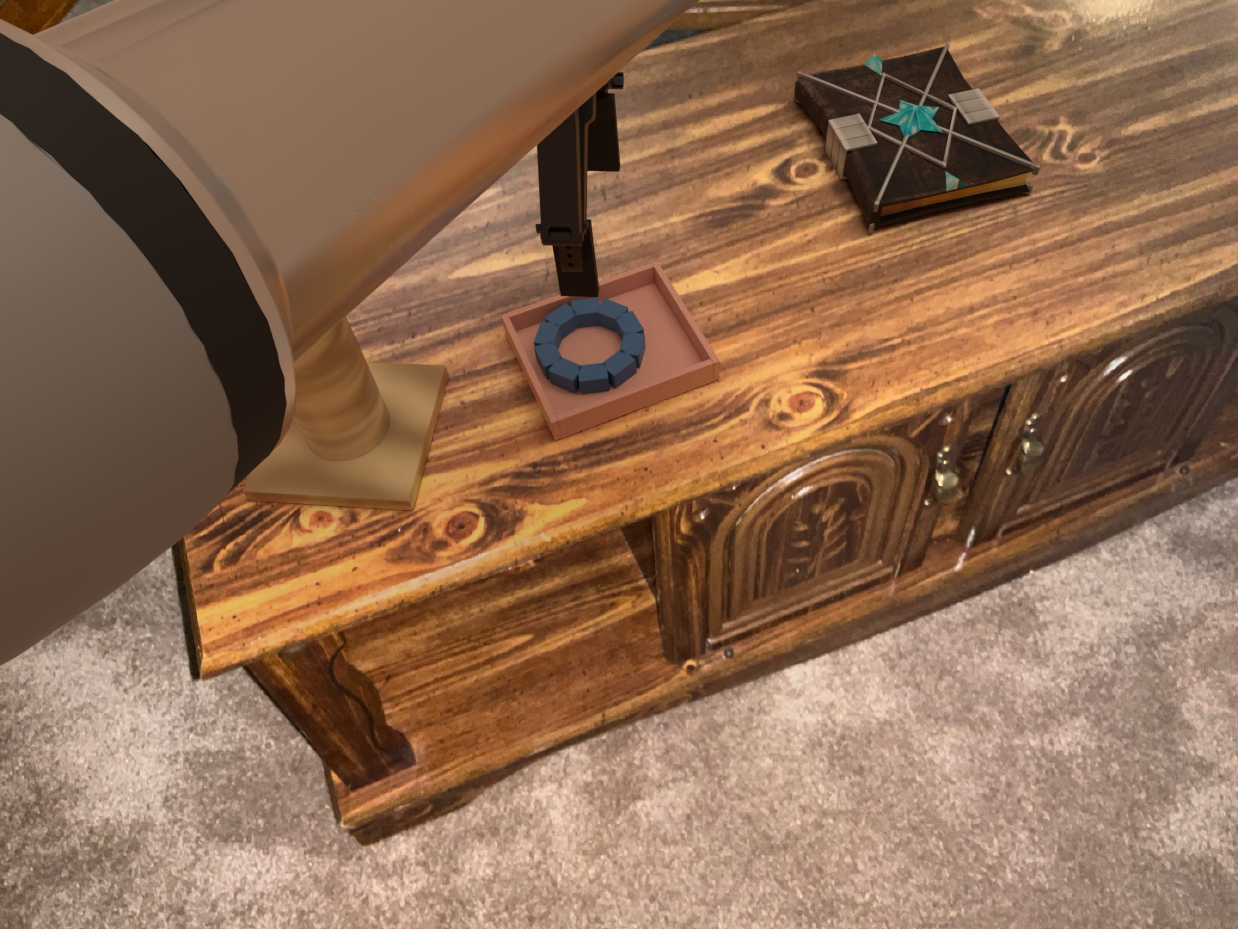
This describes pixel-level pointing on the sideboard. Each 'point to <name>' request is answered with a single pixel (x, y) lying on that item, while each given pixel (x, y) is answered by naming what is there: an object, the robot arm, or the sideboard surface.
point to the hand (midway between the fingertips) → (592, 227)
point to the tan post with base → (353, 430)
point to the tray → (667, 363)
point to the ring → (592, 374)
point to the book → (912, 136)
